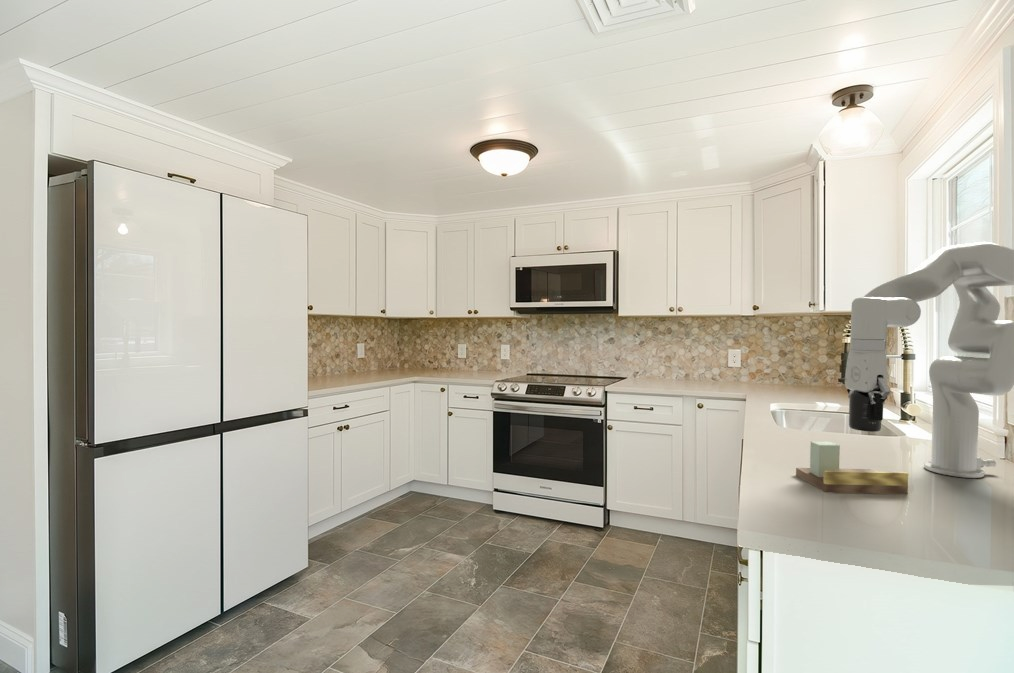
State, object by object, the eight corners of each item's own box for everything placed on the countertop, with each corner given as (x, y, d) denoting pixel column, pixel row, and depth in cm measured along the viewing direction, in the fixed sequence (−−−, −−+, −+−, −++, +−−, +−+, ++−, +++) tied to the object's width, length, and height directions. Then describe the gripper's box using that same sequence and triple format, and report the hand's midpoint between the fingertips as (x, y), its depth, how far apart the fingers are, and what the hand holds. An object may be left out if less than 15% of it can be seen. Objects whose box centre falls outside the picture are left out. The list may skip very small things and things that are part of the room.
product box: (829, 472, 135) (830, 441, 135) (838, 477, 131) (839, 445, 131) (809, 472, 135) (810, 441, 135) (818, 476, 131) (819, 445, 131)
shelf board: (869, 476, 138) (870, 457, 138) (907, 494, 124) (908, 473, 124) (796, 475, 139) (796, 456, 139) (825, 492, 125) (826, 471, 125)
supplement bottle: (842, 426, 136) (844, 379, 135) (870, 427, 135) (872, 380, 135) (858, 431, 129) (859, 382, 129) (887, 432, 128) (889, 383, 128)
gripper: (832, 344, 140) (830, 411, 141) (875, 348, 123) (872, 423, 123) (861, 345, 140) (859, 411, 140) (908, 348, 123) (905, 424, 123)
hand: (865, 416), depth 132 cm, fingers closed on supplement bottle, 6 cm apart
